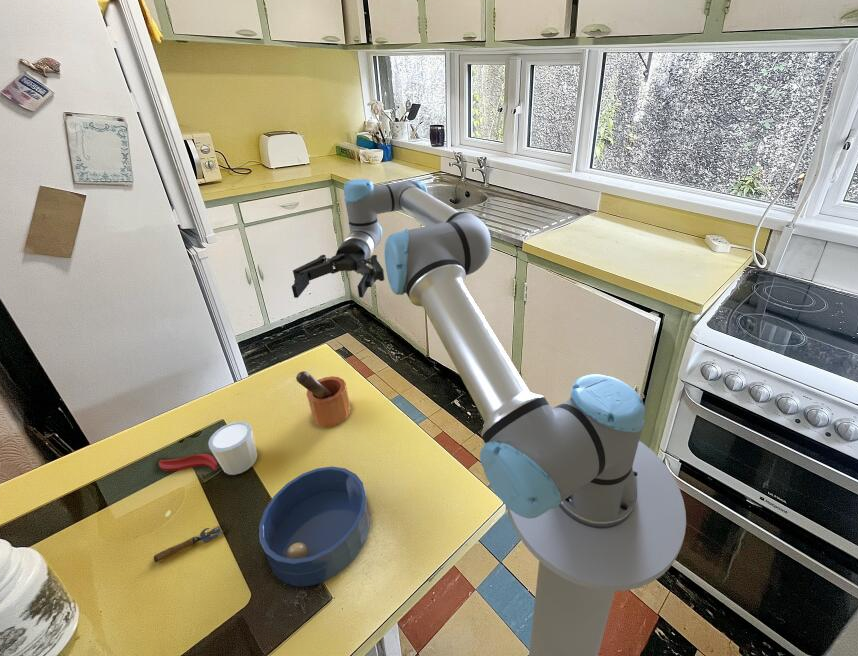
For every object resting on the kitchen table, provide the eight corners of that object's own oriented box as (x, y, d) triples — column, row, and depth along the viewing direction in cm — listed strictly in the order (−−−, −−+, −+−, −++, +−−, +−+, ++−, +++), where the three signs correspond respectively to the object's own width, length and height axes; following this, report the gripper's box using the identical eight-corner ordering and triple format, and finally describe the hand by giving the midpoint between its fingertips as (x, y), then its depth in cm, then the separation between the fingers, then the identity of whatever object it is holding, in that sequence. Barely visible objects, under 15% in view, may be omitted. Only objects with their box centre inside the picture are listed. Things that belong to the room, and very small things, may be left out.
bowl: (384, 496, 72) (380, 473, 69) (343, 595, 58) (336, 571, 56) (304, 483, 74) (297, 461, 71) (246, 577, 60) (235, 553, 58)
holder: (356, 402, 92) (351, 378, 88) (339, 429, 85) (334, 404, 82) (324, 398, 93) (318, 374, 89) (305, 424, 86) (299, 399, 83)
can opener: (155, 565, 61) (152, 560, 61) (157, 550, 63) (155, 545, 63) (225, 536, 65) (223, 532, 65) (226, 523, 67) (224, 519, 67)
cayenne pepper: (226, 460, 78) (223, 453, 77) (205, 482, 74) (201, 475, 73) (175, 447, 80) (172, 440, 80) (152, 466, 76) (148, 459, 76)
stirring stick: (340, 397, 91) (309, 370, 73) (336, 407, 90) (304, 383, 72) (330, 395, 91) (297, 368, 73) (327, 405, 90) (292, 380, 72)
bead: (312, 542, 62) (304, 565, 60) (309, 547, 64) (300, 570, 61) (292, 537, 61) (283, 561, 59) (289, 543, 63) (280, 566, 61)
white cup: (210, 472, 76) (198, 446, 72) (240, 443, 81) (230, 417, 78) (240, 482, 74) (229, 455, 71) (269, 451, 80) (260, 425, 77)
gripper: (405, 264, 107) (389, 306, 88) (309, 264, 106) (271, 307, 88) (403, 237, 104) (385, 276, 85) (303, 237, 103) (262, 276, 84)
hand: (327, 292), depth 86 cm, fingers open, 13 cm apart
